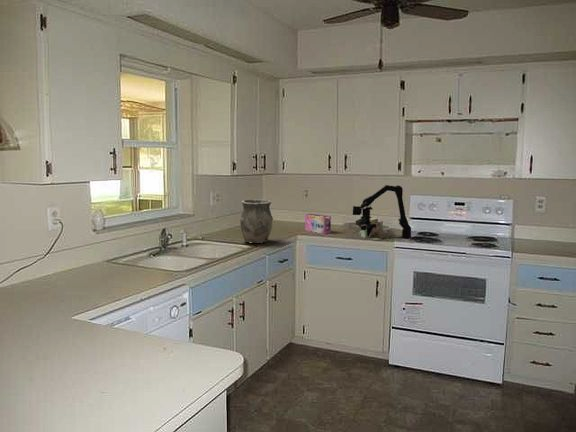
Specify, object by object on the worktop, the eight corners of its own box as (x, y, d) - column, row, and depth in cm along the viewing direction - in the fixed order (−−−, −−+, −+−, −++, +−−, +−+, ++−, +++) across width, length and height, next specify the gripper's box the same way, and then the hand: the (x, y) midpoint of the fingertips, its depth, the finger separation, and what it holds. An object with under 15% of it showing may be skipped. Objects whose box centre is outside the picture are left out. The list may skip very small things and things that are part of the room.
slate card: (383, 240, 348) (383, 239, 348) (375, 240, 345) (375, 239, 345) (377, 238, 354) (377, 237, 354) (369, 239, 351) (369, 238, 351)
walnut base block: (388, 237, 357) (388, 232, 357) (380, 238, 354) (380, 233, 353) (382, 236, 364) (382, 231, 364) (373, 237, 361) (373, 231, 360)
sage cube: (370, 237, 360) (370, 230, 359) (365, 237, 358) (365, 231, 357) (366, 236, 364) (366, 229, 364) (361, 236, 362) (361, 230, 362)
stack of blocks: (375, 231, 388) (376, 216, 387) (382, 232, 384) (383, 217, 383) (363, 235, 371) (363, 219, 369) (370, 235, 367) (371, 220, 366)
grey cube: (391, 235, 369) (391, 229, 368) (386, 235, 367) (386, 229, 366) (387, 234, 373) (387, 228, 373) (382, 234, 371) (382, 228, 371)
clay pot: (236, 244, 331) (236, 201, 327) (245, 238, 353) (244, 198, 349) (268, 245, 327) (268, 202, 323) (275, 239, 349) (274, 199, 345)
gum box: (332, 233, 378) (332, 216, 376) (325, 234, 373) (325, 217, 371) (311, 229, 396) (311, 213, 394) (304, 230, 391) (304, 214, 389)
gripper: (350, 214, 364) (350, 234, 366) (364, 217, 347) (364, 238, 349) (362, 213, 369) (361, 233, 371) (377, 216, 352) (376, 237, 354)
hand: (365, 235), depth 361 cm, fingers closed on sage cube, 5 cm apart
